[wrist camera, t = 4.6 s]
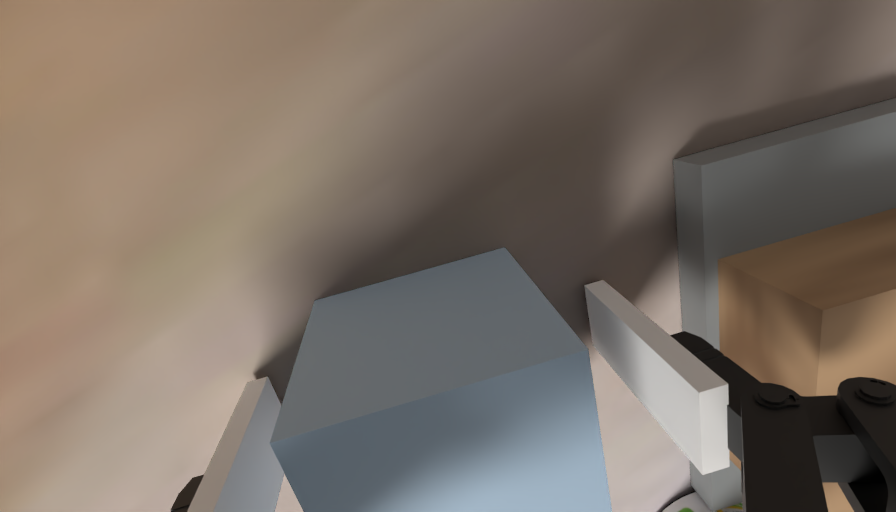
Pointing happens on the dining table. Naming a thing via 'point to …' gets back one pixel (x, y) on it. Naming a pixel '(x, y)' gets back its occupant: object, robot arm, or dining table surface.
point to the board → (773, 213)
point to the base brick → (814, 311)
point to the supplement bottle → (697, 505)
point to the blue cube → (443, 399)
